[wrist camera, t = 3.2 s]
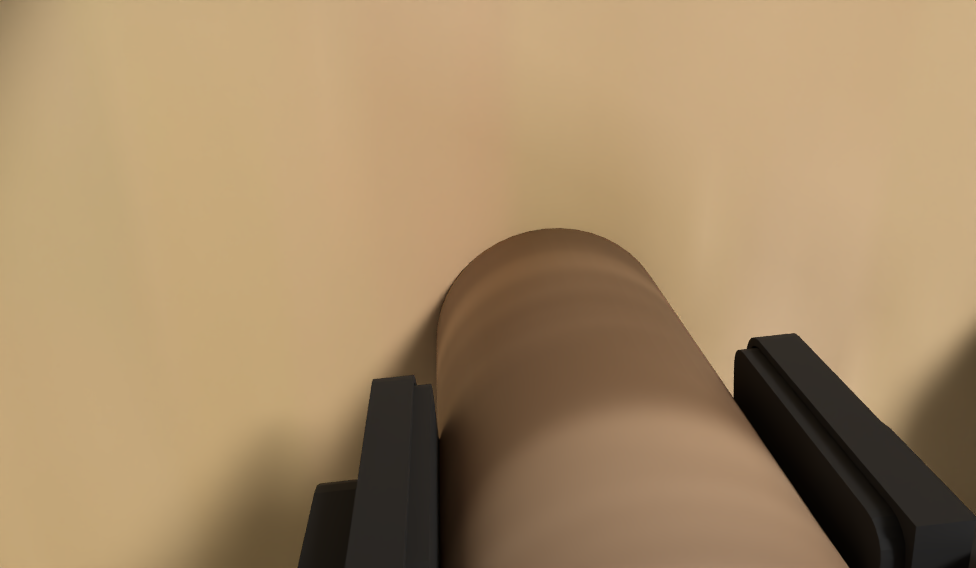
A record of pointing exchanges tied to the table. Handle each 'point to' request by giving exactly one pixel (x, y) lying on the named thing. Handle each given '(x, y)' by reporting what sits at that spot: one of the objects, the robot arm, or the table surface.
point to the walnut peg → (597, 425)
